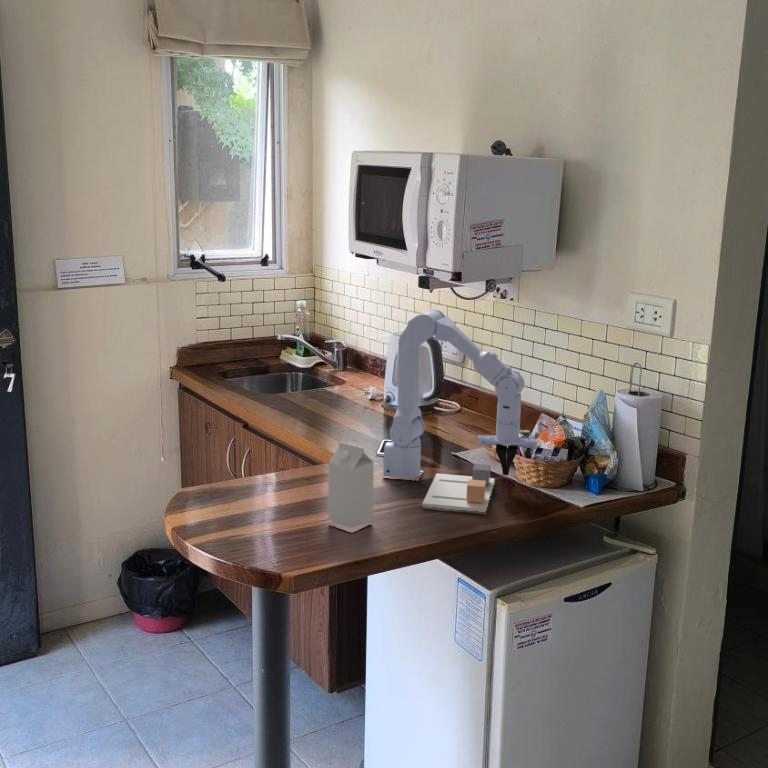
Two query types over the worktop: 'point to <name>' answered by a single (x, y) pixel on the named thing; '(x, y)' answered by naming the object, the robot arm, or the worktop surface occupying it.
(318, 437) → the worktop surface
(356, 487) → the milk carton
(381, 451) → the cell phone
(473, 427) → the worktop surface
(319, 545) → the worktop surface
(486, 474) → the charcoal slider
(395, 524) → the worktop surface
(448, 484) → the slider panel
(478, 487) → the terracotta slider
